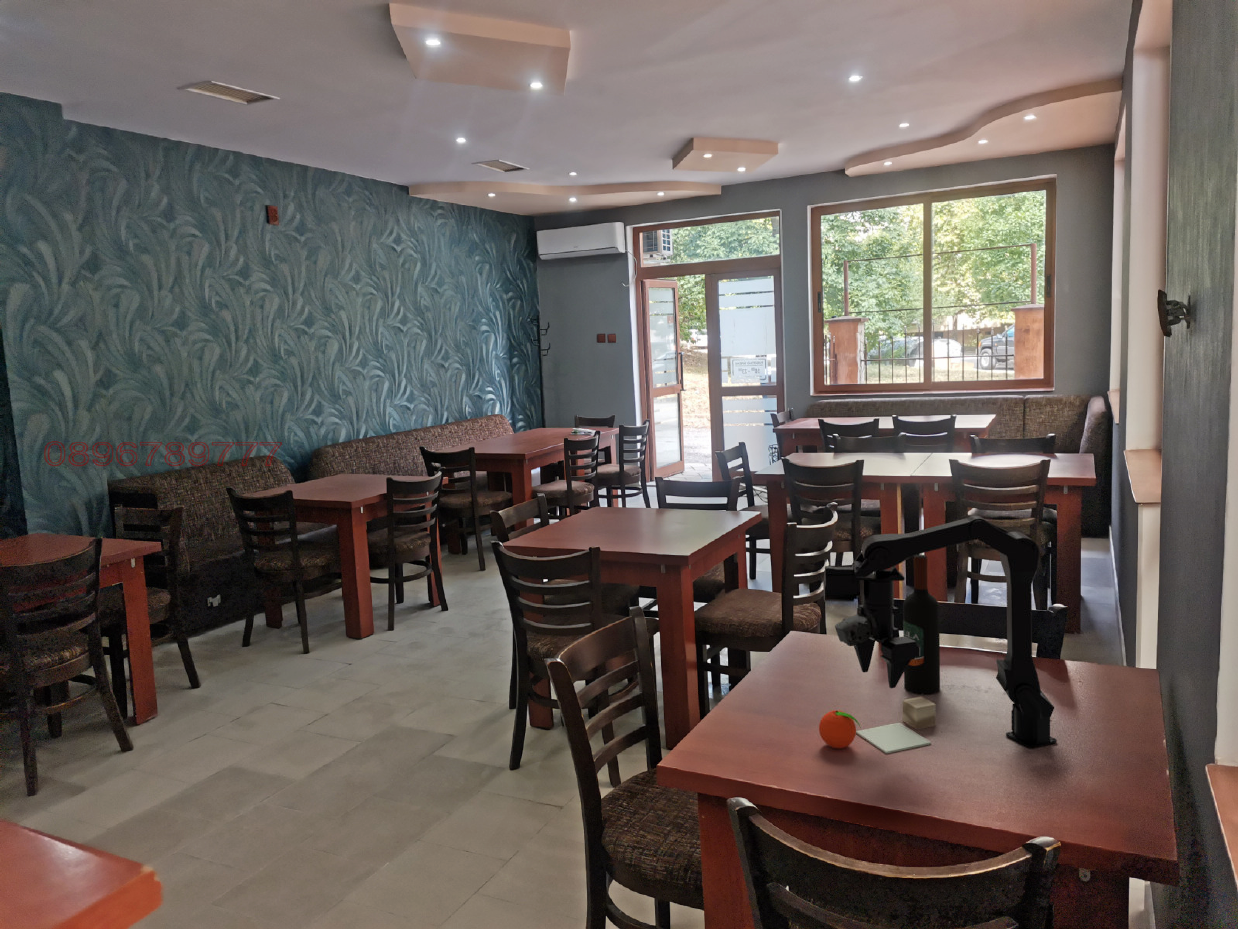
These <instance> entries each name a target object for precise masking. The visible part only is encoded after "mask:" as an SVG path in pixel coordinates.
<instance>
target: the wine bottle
mask: <svg viewBox="0 0 1238 929" xmlns="http://www.w3.org/2000/svg"><path fill="white" fill-rule="evenodd" d="M913 584H914V585H913V586H914V588H913V591H912V593H910V594H909V595H908V596H906V598H905V599H904V600H903V604H902V615H903V617H902V618H903V619H902V621H903V622H902V623H903V624H902V625H903V626H902V628H903V632H902V633H903V637H904V636H905V637H908V638H910V639H912V640H914V641H916V642H917V643H918V644H919V645H920V656H919V657H916V658H915V659H912V660H911V661H910V663H909V664H908V666H907V667H906V669H905V671H904V672H903V678H904V680H903V681H904V682H903V685H904V687H903V688H904V690H905V691H906V692H908V693H912V694H915V695H919V696H920V695H921V696H922V695H923V696H930V695H935V694H939V692H940V691H941V660H940V659H941V658H940V657H941V656H940V655H941V654H940V651H941V650H940V649H941V648H940V646H941V645H940V638H941V637H940V603H939V602H938V600H937V598H936V597H935V596H933V595H932V594H931V593H930V592H929V589H928V555H926V554H917V555H914V556H913Z"/></svg>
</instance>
